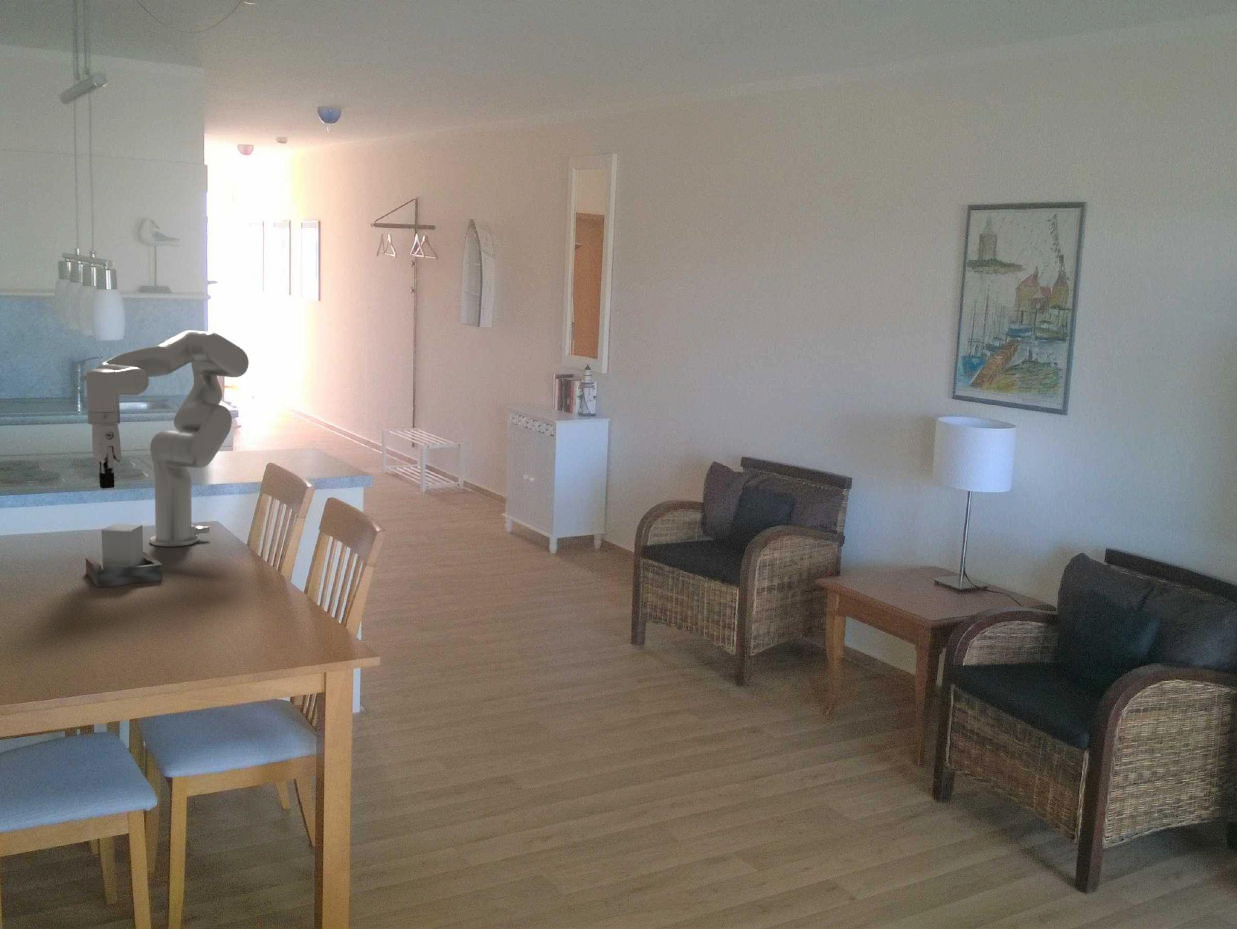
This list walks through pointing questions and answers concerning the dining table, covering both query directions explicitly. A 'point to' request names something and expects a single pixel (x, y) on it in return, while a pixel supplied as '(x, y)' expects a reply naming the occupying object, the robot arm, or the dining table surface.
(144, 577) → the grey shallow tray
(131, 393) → the robot arm
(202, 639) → the dining table surface
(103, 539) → the supplement box
